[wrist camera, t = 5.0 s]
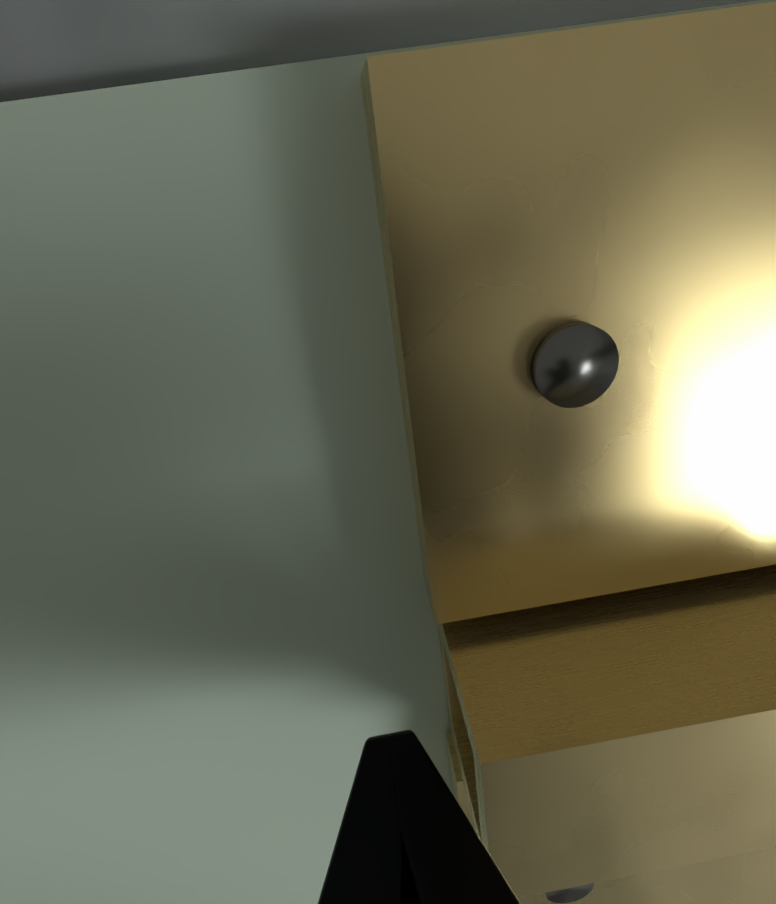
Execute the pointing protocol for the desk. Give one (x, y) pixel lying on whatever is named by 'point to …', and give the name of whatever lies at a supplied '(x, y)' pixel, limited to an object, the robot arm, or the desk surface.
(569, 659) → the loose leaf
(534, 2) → the desk surface
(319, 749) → the mat
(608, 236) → the fixed leaf
